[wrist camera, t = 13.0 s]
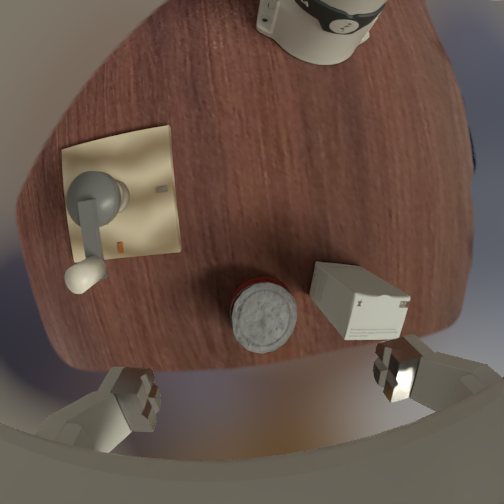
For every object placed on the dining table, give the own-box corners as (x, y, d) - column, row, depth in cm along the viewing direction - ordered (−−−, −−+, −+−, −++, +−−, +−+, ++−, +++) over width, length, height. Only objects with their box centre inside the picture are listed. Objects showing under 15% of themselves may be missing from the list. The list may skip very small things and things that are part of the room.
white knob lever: (118, 167, 32) (88, 163, 24) (131, 270, 35) (106, 292, 27) (72, 176, 31) (36, 176, 23) (85, 273, 34) (54, 294, 26)
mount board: (66, 150, 37) (42, 146, 30) (170, 127, 38) (158, 116, 31) (78, 260, 41) (56, 272, 34) (182, 249, 42) (172, 262, 35)
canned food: (233, 280, 48) (224, 268, 39) (294, 281, 48) (301, 269, 38) (231, 349, 45) (222, 354, 36) (293, 349, 45) (300, 355, 35)
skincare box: (307, 295, 45) (338, 343, 30) (315, 258, 43) (352, 292, 29) (355, 299, 45) (398, 342, 31) (363, 264, 44) (413, 297, 30)
